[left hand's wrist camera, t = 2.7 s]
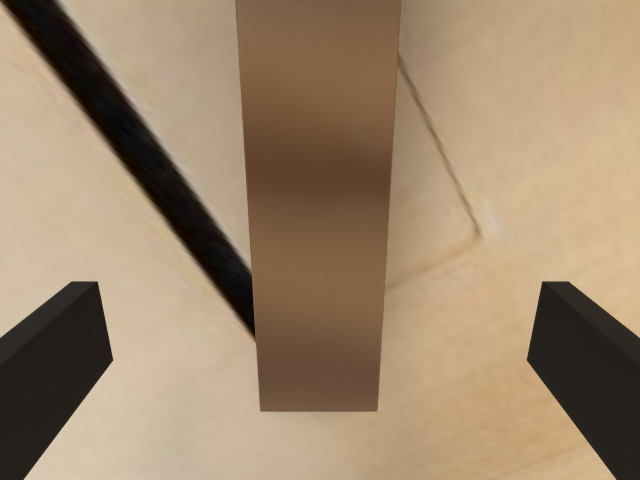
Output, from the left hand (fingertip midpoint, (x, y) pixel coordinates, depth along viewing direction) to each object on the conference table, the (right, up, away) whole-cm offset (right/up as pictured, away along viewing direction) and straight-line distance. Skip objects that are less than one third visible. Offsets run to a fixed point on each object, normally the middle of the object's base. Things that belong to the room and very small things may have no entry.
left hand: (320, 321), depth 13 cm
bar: (0, +25, +4) cm, 26 cm away
